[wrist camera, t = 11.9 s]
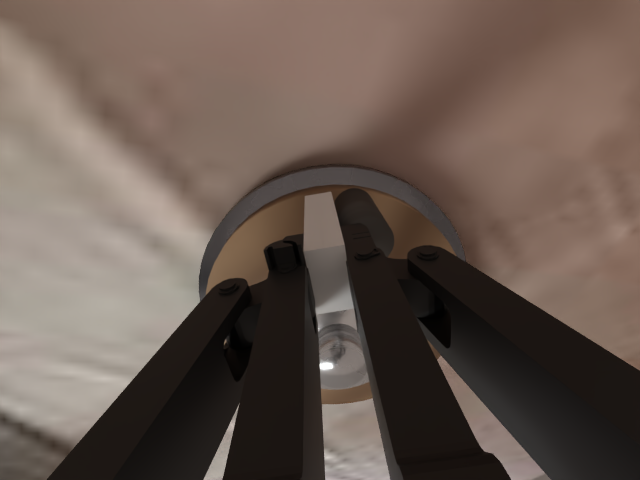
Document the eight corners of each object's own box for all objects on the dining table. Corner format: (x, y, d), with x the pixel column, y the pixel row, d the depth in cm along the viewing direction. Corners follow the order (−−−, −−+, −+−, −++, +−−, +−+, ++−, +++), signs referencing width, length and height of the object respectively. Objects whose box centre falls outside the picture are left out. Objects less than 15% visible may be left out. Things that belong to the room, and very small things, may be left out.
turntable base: (242, 398, 29) (240, 410, 28) (162, 192, 21) (154, 197, 20) (458, 367, 28) (464, 378, 27) (465, 139, 20) (474, 142, 19)
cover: (254, 324, 22) (240, 383, 17) (321, 239, 19) (324, 283, 15) (344, 370, 24) (352, 434, 19) (414, 300, 21) (442, 354, 17)
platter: (169, 327, 24) (122, 403, 18) (305, 123, 18) (303, 135, 12) (352, 415, 28) (364, 499, 23) (506, 277, 23) (575, 340, 17)
